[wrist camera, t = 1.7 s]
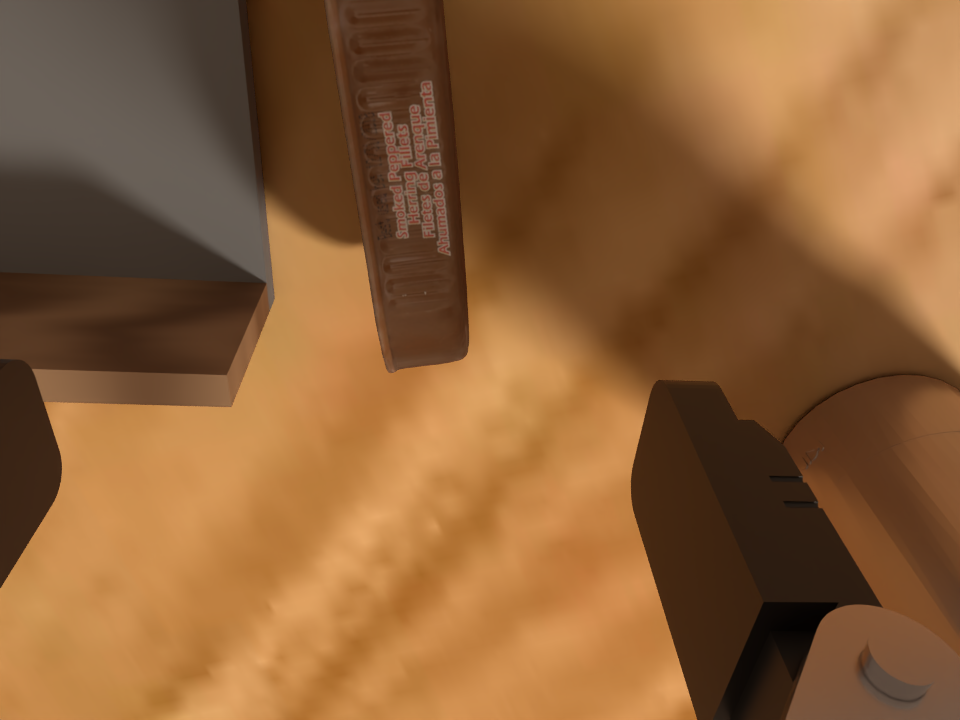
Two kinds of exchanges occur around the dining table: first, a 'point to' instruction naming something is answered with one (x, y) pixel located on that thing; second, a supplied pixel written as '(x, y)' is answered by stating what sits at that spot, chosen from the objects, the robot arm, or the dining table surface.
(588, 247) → the dining table surface
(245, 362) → the walls
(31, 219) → the mat
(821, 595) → the robot arm
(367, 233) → the tin
